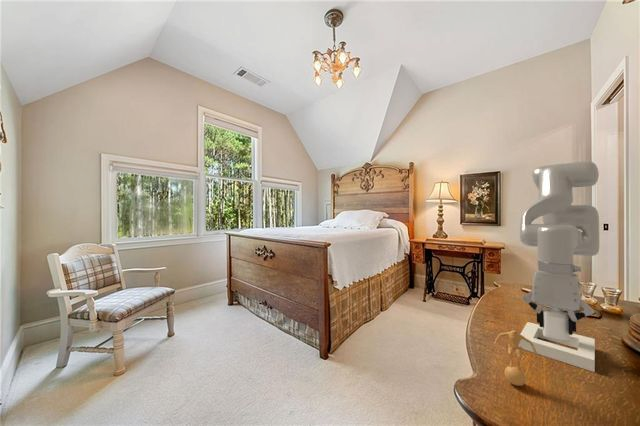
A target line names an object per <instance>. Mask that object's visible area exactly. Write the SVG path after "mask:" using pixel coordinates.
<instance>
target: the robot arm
mask: <svg viewBox="0 0 640 426" xmlns="http://www.w3.org/2000/svg"><path fill="white" fill-rule="evenodd" d="M531 176H532V180H533V182H534V184H535V186H536V188H537V189H538V199H537V200H535V201H534V202H533V203H532V204H530V205H529V206H528V207H527V208H526V209H525V210H524V211H523V213H522V215H521V217H520V225H519V226H520V227H519V228H520V229H519V239H520V241H521V242H522V244H523V245H525V246H527V247H536V248H537V269H535V270H534V272H533V273H534V274H533V279H532V288H531V289H532V290H531V291H529V292H527V293H526V294H525V295H523V296H522V300H523V301H524V302H525V303H527V304H528V305H529V307H531V308H532V310H534V311H535V313H536V324H537V323H539V325H540V327H543V311H544V310H543V308H544V307H546V308H548V309H550V307H555V308H560V309H561V311H563V312H566V313H567V314H568V315H569V318H570V319H569V321H568V324H569V334H570V335H572V334H574V333H577V321H579V320H582V319H583V318H585V317H588V316H591V315H592V314H594V313H595V310H594V309H593V308H592V307H591V306H590V305H589V304H588V303H587V302H586V301H584V299H582V295H581V294H582V293H581V285H580V280H579V276H578V274H576V273H575V272H578V273H579V272H581V271H582V266H577V265H575V264H574V256H584V257H593V256H596V255H598V254H599V250H600V215H599V212H598V209H597V208H596V207H595V206H592V205H587V204H576V205H575V204H572V203H573V201H574V197H573V196H574V194H573V188H583V187H586V188H587V187H593V186H595V185H596V184H597V183H598V181H599V176H600V175H599V168H598V167H597V165H596V163H594V162H593V161H591V160H585V161H577V162H569V163H556V164H549V165H544V166H539V167H536V168H534V169H533V171H532V173H531ZM539 217H542V222H543V223H533V222H534V220H536V219H538V218H539ZM531 298H532V299H531ZM581 307H582V308H583V310H581V311H580V309H581Z"/></svg>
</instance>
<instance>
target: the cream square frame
mask: <svg viewBox="0 0 640 426" xmlns="http://www.w3.org/2000/svg"><path fill="white" fill-rule="evenodd" d="M519 334H520V335H522V336H524V337H525V338H527V339H528V340H530V341H531V342H532V343H533V346H534V348H535V349H536V352H537V354H538V356H539V355H540V356H543V357H546V358H549V359H551V360H555V361H559V362H560V363H561V362H562V363H565V364H568V365H571V366H574V367H577V368H580V369H584V370H586V371H589V372H593V373H595V372H596V371H595V368H596V366H595V365H596V364H595V362H596V361H595V360H596V358H595V357H596V354H595V353H596V345H595V343H596V342H595V338H593V337H588V336H585V335H580V334H576V333H573V334H572V335H570V341H569V342H560V341H555V340H551V339H547V338H546V337H545V336H544V335H543V327H540V324H537V323H534V322H533V323H532V322H530V321H529V322H528V321H527V322H526V324H525V325H524V327H523V329H522V330H521V332H520V333H519ZM538 338H539V339H538ZM541 339H542V340H541ZM545 340H547V341H545ZM548 341H549V342H548ZM550 341H551V342H550ZM552 342H554V343H552ZM555 343H557V344H555ZM563 345H564V346H563ZM567 346H568V347H567ZM518 347H522V350H525V351H527V352H530V353H533V354H535V352H534V350H533V348H532V346H531V344H530V343H528V342H527V341H525V340H523V339H521V341H520V343H519V346H518ZM570 347H571V348H570ZM576 349H577V350H576Z"/></svg>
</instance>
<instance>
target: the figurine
mask: <svg viewBox="0 0 640 426" xmlns="http://www.w3.org/2000/svg"><path fill="white" fill-rule="evenodd" d="M520 334H521V333H520V332H519V331H517V330H514V329H512V330H511V331H506V332H501V333H499V334H498V335H497V337H496V338H495V340H494V342H493V347H496V345H497V342H498V341H499V339H500V338H501V337H503V336H504V337H505V336H507V337H508V338H509V340H510V343H508V344H507V347H508V348H507V349H508V350H507V352H508V357H509V365H507V366H506V367H505V368H504V376H505V378H506V380H507V381H508V382H509V383H510V384H512V385H513V386H518V387H521V386H523V385H525V384H526V383H527V376H526V374H525V372H524V371H523V370H522V368H521V361H522V358H523V349H522V347H518V346H519V343H520V341H521V339H523V340H525V341H527V342H528V343H530V344H531V346H532V348H533V350H534V352H535V353H534V356H535V358H536V359H539V354H537V352H536V349H535V348H534V346H533V343H532V342H531V341H530V340H528V339H527V338H525V337H524V336H522V335H520ZM514 350H515V354H516V355H517V366H516V365H514V364H513V363H514V362H513V354H514Z"/></svg>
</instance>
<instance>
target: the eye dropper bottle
mask: <svg viewBox="0 0 640 426" xmlns="http://www.w3.org/2000/svg"><path fill="white" fill-rule="evenodd" d="M569 319H570V316H569V314H568V312H566V311H563V310H561V309H560V308H555V307H550V308H548V309H544V310H543V335H544V336H545V337H546V338H547V339H551V340H555V341H560V342H569V341H570V334H569V324H568V321H569Z"/></svg>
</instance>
